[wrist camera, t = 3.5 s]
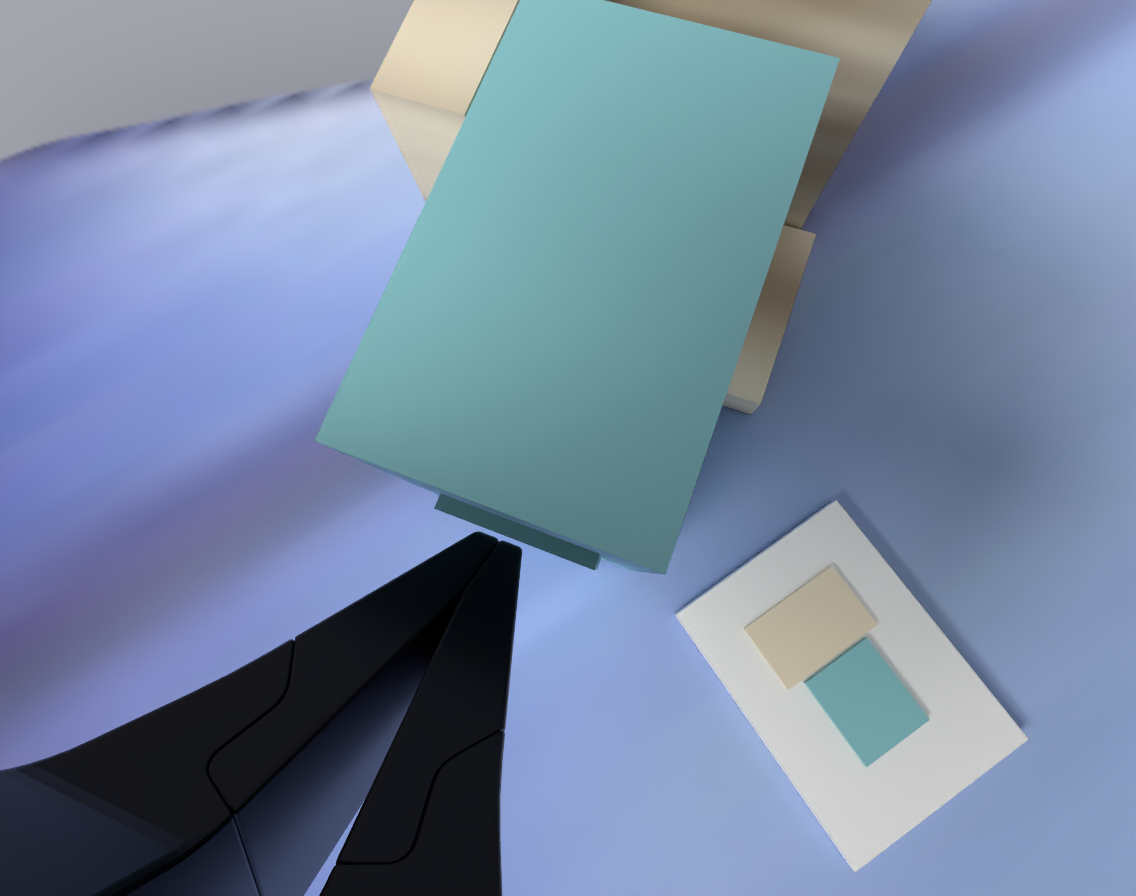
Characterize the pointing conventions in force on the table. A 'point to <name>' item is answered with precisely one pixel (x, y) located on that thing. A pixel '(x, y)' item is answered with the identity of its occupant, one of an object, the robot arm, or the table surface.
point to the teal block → (585, 278)
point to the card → (849, 683)
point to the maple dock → (735, 3)
